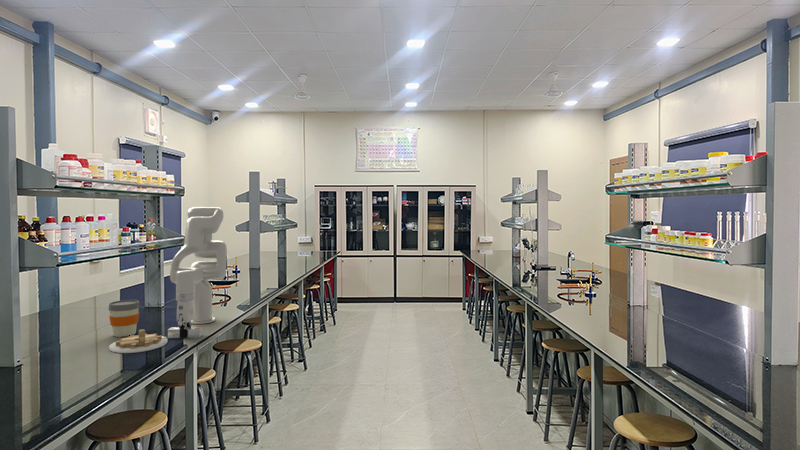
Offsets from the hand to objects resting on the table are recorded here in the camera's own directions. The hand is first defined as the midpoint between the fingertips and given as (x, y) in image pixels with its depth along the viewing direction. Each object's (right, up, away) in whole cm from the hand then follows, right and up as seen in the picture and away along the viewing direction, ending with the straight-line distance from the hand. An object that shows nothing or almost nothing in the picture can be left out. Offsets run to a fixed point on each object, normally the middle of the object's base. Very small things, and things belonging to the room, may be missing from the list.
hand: (185, 335), depth 209 cm
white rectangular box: (0, 0, 0) cm, 0 cm away
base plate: (-14, -1, -13) cm, 19 cm away
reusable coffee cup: (-30, 0, +4) cm, 31 cm away
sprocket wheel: (-14, 0, -13) cm, 19 cm away
